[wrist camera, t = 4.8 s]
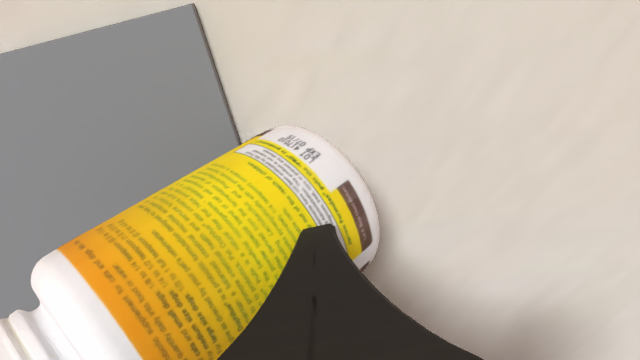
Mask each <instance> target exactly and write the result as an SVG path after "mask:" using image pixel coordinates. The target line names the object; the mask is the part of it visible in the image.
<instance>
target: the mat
mask: <svg viewBox="0 0 640 360" xmlns="http://www.w3.org/2000/svg"><path fill="white" fill-rule="evenodd" d="M239 145H241V144H240V141H239V138H238V135H237V132H236V129H235V126H234V123H233V120H232V117H231V114H230V111H229V108H228V105H227V102H226V99H225V96H224V93H223V90H222V87H221V84H220V81H219V78H218V74H217V71H216V68H215V65H214V62H213V59H212V56H211V53H210V50H209V47H208V44H207V41H206V38H205V35H204V32H203V29H202V26H201V23H200V20H199V17H198V14H197V11H196V8H195V5H194V3H193V4H189V5H185V6H182V7H178V8H174V9H170V10H166V11H163V12H159V13H155V14H151V15H147V16H143V17H140V18H136V19H132V20H128V21H124V22H121V23H117V24H113V25H109V26H105V27H102V28H98V29H94V30H90V31H86V32H82V33H79V34H75V35H71V36H67V37H63V38H60V39H56V40H52V41H48V42H44V43H40V44H37V45H33V46H29V47H25V48H21V49H18V50H14V51H10V52H6V53H2V54H0V319H2V318H9V315H10V314H12V313H13V312H14V311H16V310H23V311H28V312H30V311H33V310H35V309H37V308H38V307H39V306H40V301H39V299H38V297H37V295H36V294H35V292H34V291H33V289H32V286H31V274H32V271H33V269H34V267H35V265H36V263H37V262H38V261H39V260H40V259H41V258H43V257H44V256H46V255H47V254H49V253H51V252H52V251H54V250H55V249H57V248H58V247H60V246H62V245H64V244H65V243H67V242H69V241H71V240H72V239H74V238H76V237H77V236H79V235H81V234H83V233H85V232H87V231H89V230H90V229H92V228H94V227H96V226H98V225H99V224H101V223H103V222H105V221H107V220H109V219H110V218H112V217H114V216H116V215H117V214H119V213H121V212H123V211H124V210H126V209H128V208H130V207H131V206H133V205H135V204H137V203H139V202H140V201H142V200H144V199H145V198H147V197H149V196H150V195H152V194H154V193H155V192H157V191H159V190H161V189H163V188H165V187H167V186H169V185H170V184H172V183H174V182H175V181H177V180H179V179H181V178H182V177H184V176H186V175H188V174H190V173H192V172H193V171H195V170H197V169H199V168H200V167H202V166H204V165H206V164H208V163H209V162H211V161H213V160H215V159H216V158H218V157H220V156H222V155H224V154H225V153H227V152H229V151H231V150H232V149H234V148H236V147H238V146H239Z"/></svg>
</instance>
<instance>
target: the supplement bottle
mask: <svg viewBox="0 0 640 360" xmlns="http://www.w3.org/2000/svg"><path fill="white" fill-rule="evenodd" d="M329 223H330V224H332V225H333V226H335V229H336V233H337V236H338V238H339V240H340V242H341V244H342V246H343V248H344V249H345V251H346V252H347V254H348V255H349V257H350V258H351V259H352V261H353V262H354V263H355V265H356V266H357V267H358V269H359V270H360V271H361V272H362V271H364V270H365V269H366V268H367V267H368V265H369V264H370V263H371V262H372V260H373V258H374V256H375V255H376V252H377V249H378V245H379V240H380V225H379V219H378V213H377V210H376V206H375V204H374V201H373V198H372V196H371V193H370V191H369V189H368V187H367V185H366V184H365V182H364V180H363V178H362V177H361V175H360V174H359V172H358V171H357V169H356V168H355V167H354V165H353V164H352V163H351V162H350V161H349V160H348V158H347V157H346V156H345V155H344V154H343V153H342V152H341V151H340V150H339V149H338V148H336V147H335V146H334V145H333V144H331V143H330V142H329V141H328V140H326V139H325V138H323V137H322V136H320V135H318V134H316V133H314V132H312V131H310V130H307V129H304V128H301V127H296V126H278V127H275V128H271V129H269V130H267V131H265V132H263V133H261V134H259V135H257V136H255V137H253V138H251V139H250V140H248V141H246V142H245V143H243V144H241V145H239V146H238V147H236V148H234V149H232V150H231V151H229V152H227V153H225V154H224V155H222V156H220V157H218V158H216V159H215V160H213V161H211V162H209V163H208V164H206V165H204V166H202V167H200V168H199V169H197V170H195V171H193V172H192V173H190V174H188V175H186V176H184V177H182V178H181V179H179V180H177V181H175V182H174V183H172V184H170V185H169V186H167V187H165V188H163V189H161V190H159V191H157V192H155V193H154V194H152V195H150V196H149V197H147V198H145V199H144V200H142V201H140V202H139V203H137V204H135V205H133V206H131V207H130V208H128V209H126V210H124V211H123V212H121V213H119V214H117V215H116V216H114V217H112V218H110V219H109V220H107V221H105V222H103V223H101V224H99V225H98V226H96V227H94V228H92V229H90V230H89V231H87V232H85V233H83V234H81V235H79V236H77V237H76V238H74V239H72V240H71V241H69V242H67V243H65V244H64V245H62V246H60V247H58V248H57V249H55V250H54V251H52V252H51V253H49V254H47V255H46V256H44V257H43V258H41V259H40V260H39V261H38V262H37V263H36V265H35V267H34V269H33V271H32V274H31V286H32V289H33V291H34V292H35V294H36V295H37V297H38V299H39V301H40V306H39V307H38V308H37V309H35V310H33V311H30V312H28V311H23V310H16V311H14V312H13V313H12V314H10V315H9V318H2V319H0V360H217V359H218V358H219V357H220V355H221V354H222V353H223V352H224V351H225V350H226V349H227V348H228V347H229V346H230V345H231V344H232V342H233V341H234V340H235V339H236V338H237V337H238V336H239V335H240V334H241V333H242V331H243V330H244V329H245V328H246V326H247V325H248V324H249V323H250V321H251V320H252V319H253V317H254V316H255V314H256V313H257V312H258V310H259V309H260V307H261V306H262V304H263V303H264V301H265V300H266V298H267V296H268V295H269V293H270V292H271V290H272V288H273V287H274V285H275V283H276V282H277V280H278V278H279V276H280V274H281V273H282V271H283V269H284V267H285V265H286V263H287V261H288V259H289V257H290V255H291V253H292V251H293V249H294V246H295V244H296V242H297V239H298V237H299V235H300V233H301V231H302V230H303V229H306V228H311V227H315V226H320V225H324V224H329Z"/></svg>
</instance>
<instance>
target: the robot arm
mask: <svg viewBox="0 0 640 360" xmlns="http://www.w3.org/2000/svg"><path fill="white" fill-rule="evenodd" d="M217 360H483V359H482V358H480V357H478V356H476V355H473V354H471V353H469V352H467V351H465V350H463V349H461V348H459V347H457V346H455V345H453V344H450V343H449V342H447V341H445V340H444V339H442V338H440V337H439V336H437V335H435V334H434V333H432V332H430V331H429V330H427V329H426V328H424V327H423V326H422V325H420V324H419V323H417V322H416V321H415V320H413V319H412V318H410V317H409V316H407V315H406V314H405V313H403V312H402V311H401V310H400V309H398V308H397V307H396V306H395V305H394V304H392V303H391V302H390V301H389V300H388V299H387V298H386V297H385V296H384V295H382V294H381V293H380V292H379V291H378V290H377V289H376V288H375V287H374V286H373V285H372V284H371V282H370V281H369V280H368V279H367V278H366V277H365V276H364V275H363V273H362V272H361V271H360V270H359V269H358V267H357V266H356V265H355V263H354V262H353V261H352V259H351V258H350V257H349V255H348V254H347V252H346V251H345V249H344V248H343V246H342V244H341V242H340V240H339V238H338V236H337V233H336V229H335V226H333V225H332V224H330V223H329V224H324V225H320V226H315V227H311V228H306V229H303V230H302V231H301V233H300V235H299V237H298V239H297V242H296V244H295V246H294V249H293V251H292V253H291V255H290V257H289V259H288V261H287V263H286V265H285V267H284V269H283V271H282V273H281V274H280V276H279V278H278V280H277V282H276V283H275V285H274V287H273V288H272V290H271V292H270V293H269V295H268V296H267V298H266V300H265V301H264V303H263V304H262V306H261V307H260V309H259V310H258V312H257V313H256V314H255V316H254V317H253V319H252V320H251V321H250V323H249V324H248V325H247V326H246V328H245V329H244V330H243V331H242V333H241V334H240V335H239V336H238V337H237V338H236V339H235V340H234V341H233V342H232V344H231V345H230V346H229V347H228V348H227V349H226V350H225V351H224V352H223V353H222V354H221V355H220V357H219V358H218V359H217Z"/></svg>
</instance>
